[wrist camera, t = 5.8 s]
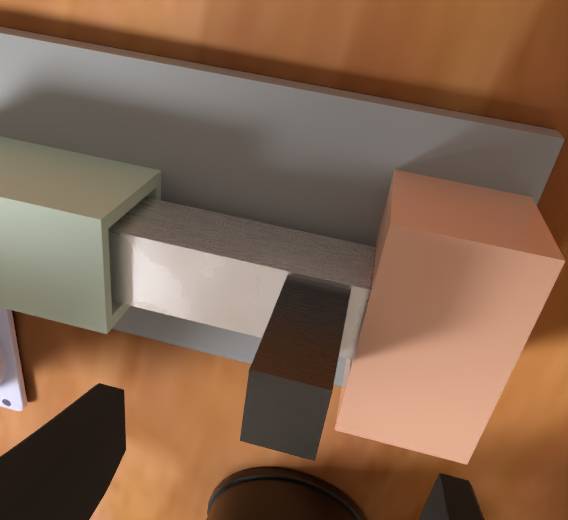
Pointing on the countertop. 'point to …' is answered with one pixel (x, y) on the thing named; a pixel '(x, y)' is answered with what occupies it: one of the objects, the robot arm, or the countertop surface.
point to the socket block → (445, 313)
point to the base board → (252, 147)
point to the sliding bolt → (252, 303)
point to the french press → (279, 498)
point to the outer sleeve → (63, 230)
